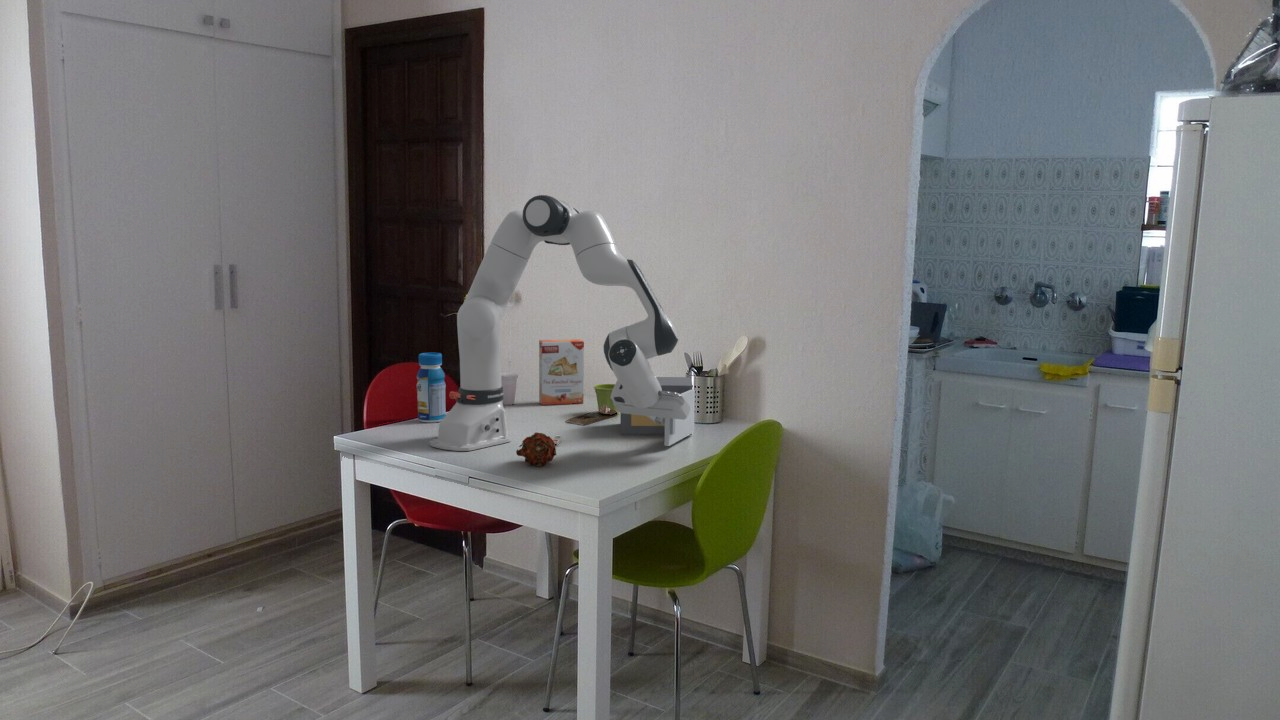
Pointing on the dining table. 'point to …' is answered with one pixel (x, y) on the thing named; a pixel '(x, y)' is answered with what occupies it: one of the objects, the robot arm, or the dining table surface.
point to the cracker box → (561, 371)
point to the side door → (681, 422)
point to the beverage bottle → (431, 388)
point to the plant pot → (604, 395)
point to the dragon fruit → (537, 449)
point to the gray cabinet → (645, 424)
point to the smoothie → (509, 386)
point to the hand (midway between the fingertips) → (660, 421)
